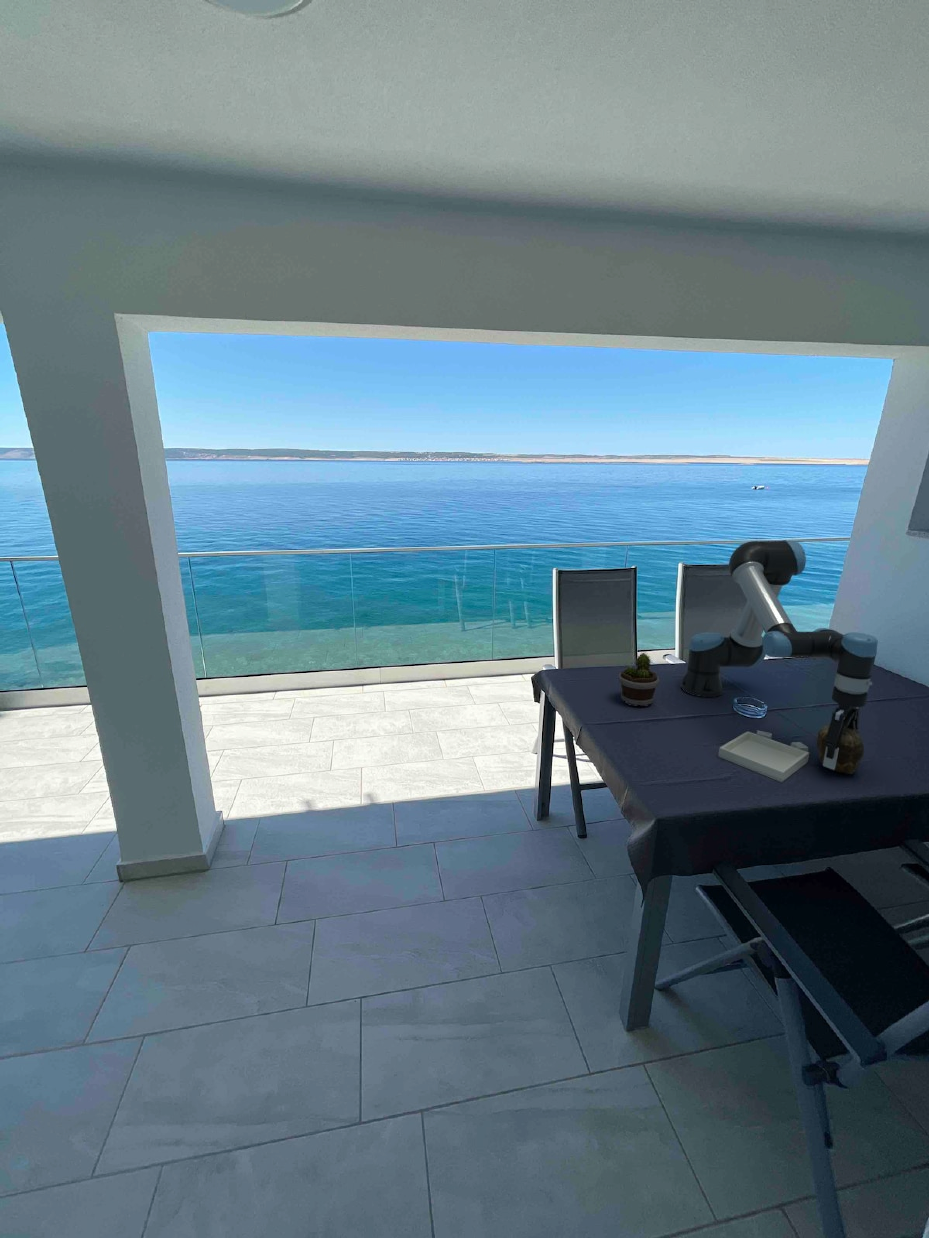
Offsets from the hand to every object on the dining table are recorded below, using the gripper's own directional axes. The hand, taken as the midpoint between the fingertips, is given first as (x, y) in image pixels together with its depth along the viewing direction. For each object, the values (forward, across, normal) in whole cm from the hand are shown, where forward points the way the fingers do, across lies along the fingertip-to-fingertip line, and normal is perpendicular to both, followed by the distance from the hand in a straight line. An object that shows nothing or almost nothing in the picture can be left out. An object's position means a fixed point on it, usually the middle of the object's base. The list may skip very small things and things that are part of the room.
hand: (836, 760), depth 143 cm
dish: (+3, -10, +15) cm, 19 cm away
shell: (+2, 0, 0) cm, 2 cm away
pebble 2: (+3, +4, +11) cm, 12 cm away
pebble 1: (+3, +3, +21) cm, 21 cm away
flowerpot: (+4, -3, +64) cm, 64 cm away
